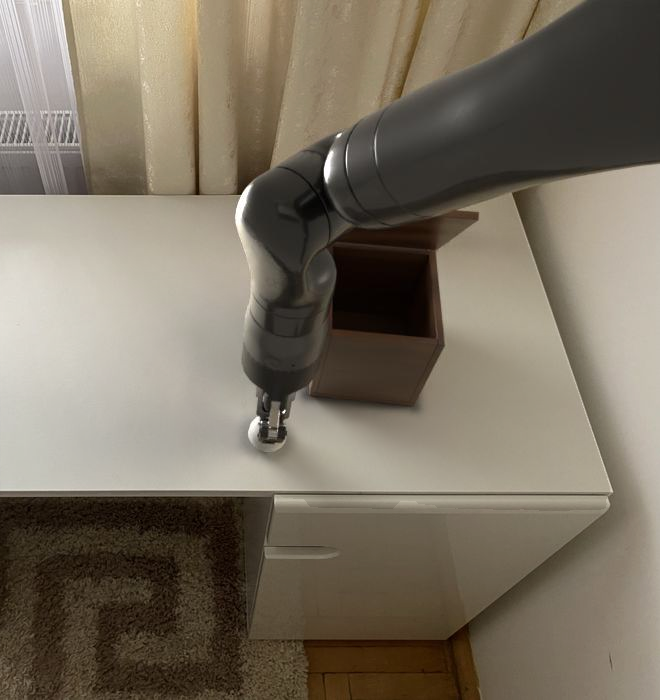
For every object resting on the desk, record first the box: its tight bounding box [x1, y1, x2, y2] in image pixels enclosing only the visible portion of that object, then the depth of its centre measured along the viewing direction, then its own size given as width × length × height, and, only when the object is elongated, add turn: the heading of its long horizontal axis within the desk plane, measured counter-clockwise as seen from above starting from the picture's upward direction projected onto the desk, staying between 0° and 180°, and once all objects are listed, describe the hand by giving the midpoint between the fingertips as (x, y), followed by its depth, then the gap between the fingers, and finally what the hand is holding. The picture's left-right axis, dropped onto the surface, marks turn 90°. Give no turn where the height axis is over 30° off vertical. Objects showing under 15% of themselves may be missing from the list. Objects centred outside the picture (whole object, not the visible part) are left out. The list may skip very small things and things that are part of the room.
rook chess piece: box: [247, 396, 287, 453], centre depth 77 cm, size 4×4×8 cm
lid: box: [336, 209, 480, 251], centre depth 73 cm, size 14×13×5 cm
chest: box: [308, 242, 446, 407], centre depth 82 cm, size 14×13×13 cm
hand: (269, 423), depth 78 cm, fingers closed on rook chess piece, 3 cm apart
